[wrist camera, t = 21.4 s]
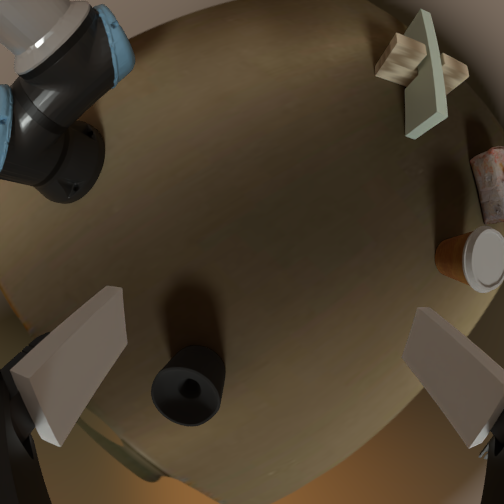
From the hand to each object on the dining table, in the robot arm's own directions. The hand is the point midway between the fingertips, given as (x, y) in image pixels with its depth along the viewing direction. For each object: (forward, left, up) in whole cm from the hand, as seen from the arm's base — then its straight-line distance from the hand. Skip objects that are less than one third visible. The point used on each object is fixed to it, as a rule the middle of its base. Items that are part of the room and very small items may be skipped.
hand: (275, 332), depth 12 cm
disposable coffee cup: (+31, +7, -31) cm, 45 cm away
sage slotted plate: (+21, +38, -31) cm, 53 cm away
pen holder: (-7, -18, -31) cm, 37 cm away
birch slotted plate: (+21, +38, -31) cm, 53 cm away
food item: (+40, +22, -32) cm, 55 cm away
